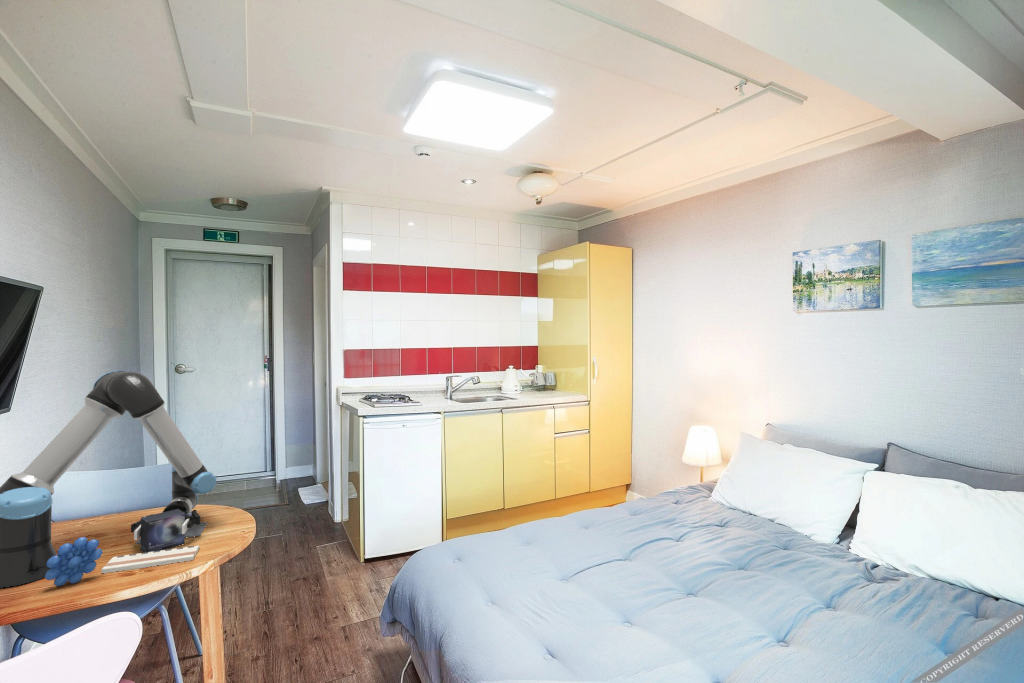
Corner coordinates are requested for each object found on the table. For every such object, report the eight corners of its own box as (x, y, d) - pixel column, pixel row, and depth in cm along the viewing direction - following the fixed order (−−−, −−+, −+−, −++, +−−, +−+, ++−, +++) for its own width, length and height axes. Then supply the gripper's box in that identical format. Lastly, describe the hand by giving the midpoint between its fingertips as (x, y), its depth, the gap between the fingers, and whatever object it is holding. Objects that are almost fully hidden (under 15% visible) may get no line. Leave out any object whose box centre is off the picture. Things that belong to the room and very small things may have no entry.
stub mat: (134, 544, 157) (134, 543, 157) (148, 529, 170) (148, 528, 170) (199, 536, 164) (199, 535, 164) (207, 522, 177) (208, 521, 177)
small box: (146, 555, 149) (146, 521, 149) (139, 550, 153) (139, 517, 153) (185, 544, 157) (185, 512, 157) (178, 539, 161) (178, 508, 161)
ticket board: (101, 573, 137) (101, 568, 137) (113, 560, 145) (113, 556, 145) (192, 560, 145) (192, 555, 145) (199, 549, 154) (199, 544, 154)
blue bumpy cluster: (99, 570, 139) (100, 528, 139) (103, 578, 134) (104, 534, 134) (43, 585, 130) (44, 540, 130) (45, 594, 126) (46, 547, 126)
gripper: (216, 517, 176) (204, 538, 156) (136, 526, 167) (112, 550, 147) (216, 496, 176) (204, 515, 156) (136, 504, 167) (112, 526, 147)
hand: (159, 532), depth 151 cm, fingers closed on small box, 12 cm apart
